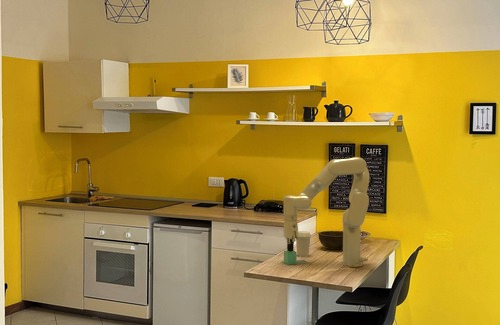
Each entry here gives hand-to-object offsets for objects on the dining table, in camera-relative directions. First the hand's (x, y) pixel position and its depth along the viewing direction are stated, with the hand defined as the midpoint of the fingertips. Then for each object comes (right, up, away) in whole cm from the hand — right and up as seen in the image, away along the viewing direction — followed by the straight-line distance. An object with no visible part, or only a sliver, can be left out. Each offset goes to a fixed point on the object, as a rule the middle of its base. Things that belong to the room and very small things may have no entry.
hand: (290, 250), depth 324 cm
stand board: (+3, -8, +2) cm, 9 cm away
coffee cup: (+9, -7, +21) cm, 24 cm away
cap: (0, -7, 0) cm, 7 cm away
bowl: (+32, -6, +47) cm, 57 cm away
